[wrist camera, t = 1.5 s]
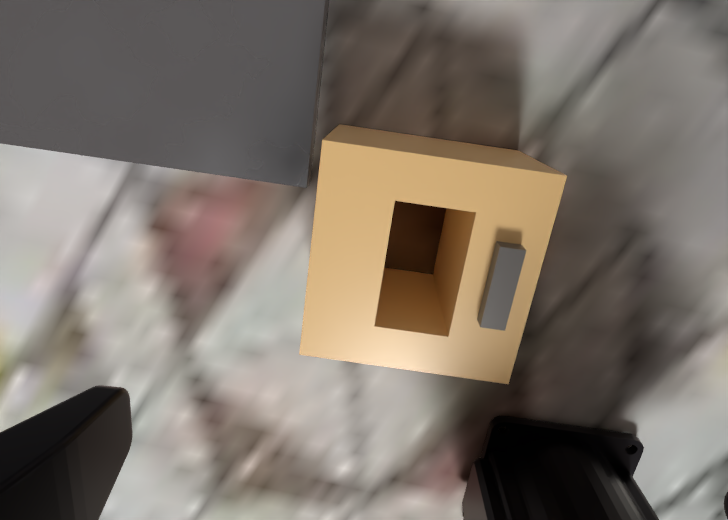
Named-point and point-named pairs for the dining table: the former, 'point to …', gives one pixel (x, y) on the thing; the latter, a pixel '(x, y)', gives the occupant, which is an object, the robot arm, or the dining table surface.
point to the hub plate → (167, 82)
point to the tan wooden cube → (453, 261)
